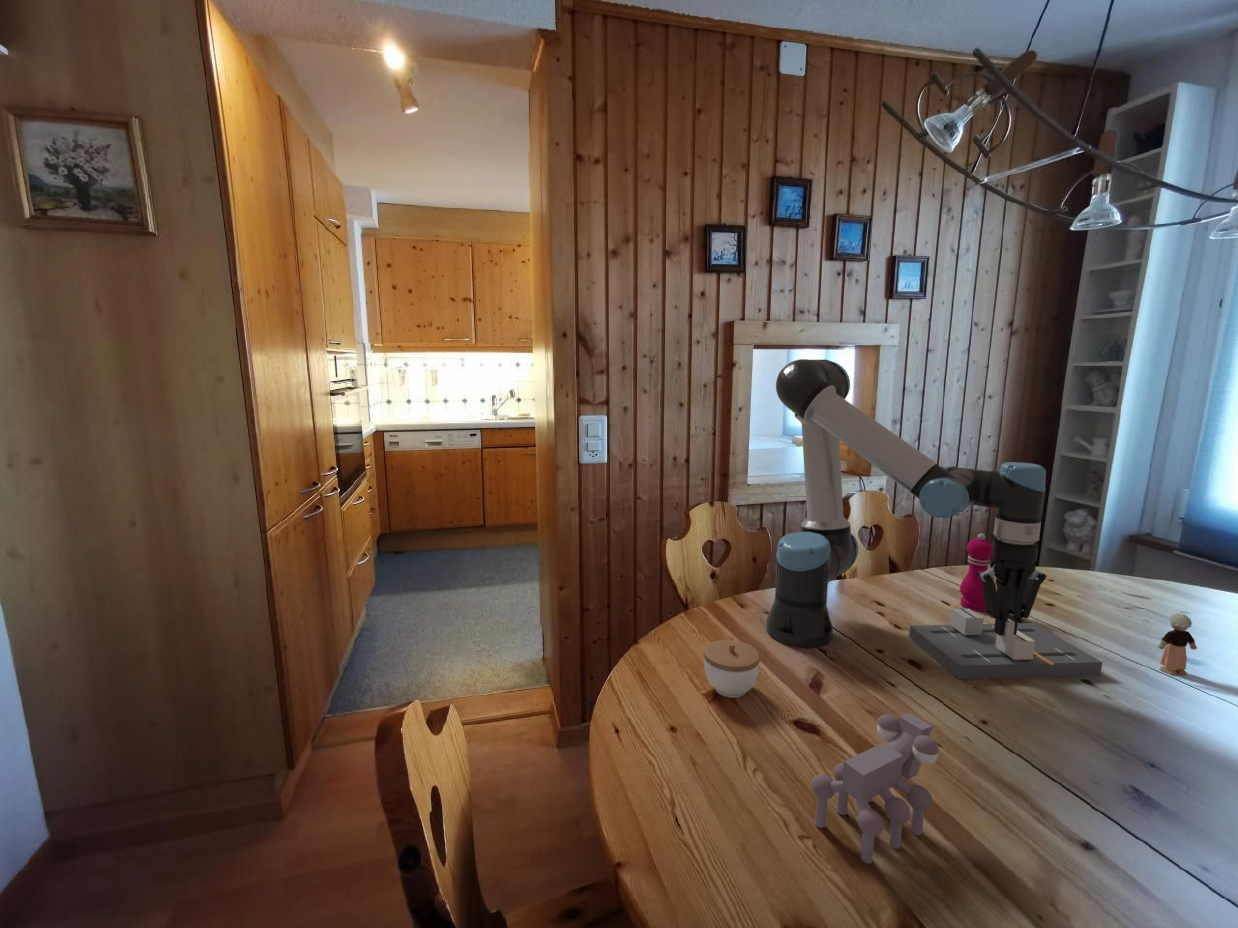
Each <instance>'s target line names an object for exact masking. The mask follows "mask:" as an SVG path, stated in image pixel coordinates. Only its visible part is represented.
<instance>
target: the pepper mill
mask: <svg viewBox="0 0 1238 928" xmlns="http://www.w3.org/2000/svg"><path fill="white" fill-rule="evenodd" d="M992 545H993V543H991V542H990V541H989V540H986V535H985V534H984V533H979V534H977V538H974V539H971V540H970V541H969V542H968V543H967V546H966V551H967V553H968V556H967V558H968V559H967V562H968V564H969V565H968V566H969V567H968V570H967V573H966V575H965V576H964V578H963V579H962V581H961V583H960V586H959V592H960V593H961V595H962V596H961V597H960V605H961V606H962V607H963V608H964V609H970V610H972V611H974V612H986V609H985V602H984V595H983V588H982V582H981V580H980V578H979V576H978V572H979V571H982V572H985V571H986V570H988V569H989V566H990V564H991V562H992V560H991V557H993V556H992Z"/></svg>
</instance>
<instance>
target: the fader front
mask: <svg viewBox="0 0 1238 928" xmlns="http://www.w3.org/2000/svg"><path fill="white" fill-rule="evenodd" d="M1034 648H1035V641H1034V640H1033V639H1031V638H1029V637H1028V636H1026V635H1025V634H1023V633H1021V632H1020V631H1018V630H1017V633H1016V635H1013V643H1012V652H1003V651H1002V650H1001V651H1002V652H1003V653H1005V654H1006V655H1008V656H1009V657H1011V658H1012V659H1014V660H1027V659H1033V655H1034ZM998 649H999V648H998ZM999 650H1000V649H999Z"/></svg>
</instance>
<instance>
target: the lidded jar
mask: <svg viewBox="0 0 1238 928" xmlns="http://www.w3.org/2000/svg"><path fill="white" fill-rule="evenodd" d="M703 658H704V660H703V662H704V665H703V666H704V671H705V676H706V678H707V681H708V683H709V684H710V685H711V687H712V688H713V689H714V690H715V691H716V693H717V694H718V695H721V696H722V697H726V698H733V699H734V698H741V697H743V696H745V695H746V693H747V692H749V691H750V690H751V689H752V688H753V687H754V685H755V684H756V682H757V679H758V676H759V669H760V661H761V655H760V651H758V649H756V647H754V646H753V645H751V644H748V643H747V642H743V641H739V640H735V639H720V640H715V641H712V642H710V643H708V644H706V646H705V648H704V649H703Z"/></svg>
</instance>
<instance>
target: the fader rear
mask: <svg viewBox="0 0 1238 928" xmlns="http://www.w3.org/2000/svg"><path fill="white" fill-rule="evenodd" d="M983 624H984V617H983V616H982V615H980V614H978V613H977V612H976V611H974V610H970V609H967V608H952V609H951V617H950V625H951V626H952V627H954V628H955V629H957V630H958V631H959V632H961V633H962V634H964V635H982V629H983Z"/></svg>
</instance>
